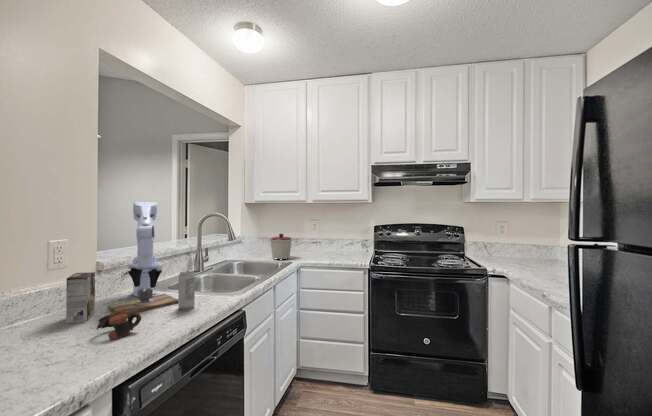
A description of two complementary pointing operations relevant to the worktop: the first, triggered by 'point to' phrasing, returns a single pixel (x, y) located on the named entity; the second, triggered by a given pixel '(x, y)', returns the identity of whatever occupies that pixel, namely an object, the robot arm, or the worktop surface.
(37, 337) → the worktop surface
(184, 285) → the energy drink can
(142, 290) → the grey faceted polyhedron
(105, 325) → the brown rounded piece
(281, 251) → the canister
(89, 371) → the worktop surface
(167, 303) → the board
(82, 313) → the coffee box
